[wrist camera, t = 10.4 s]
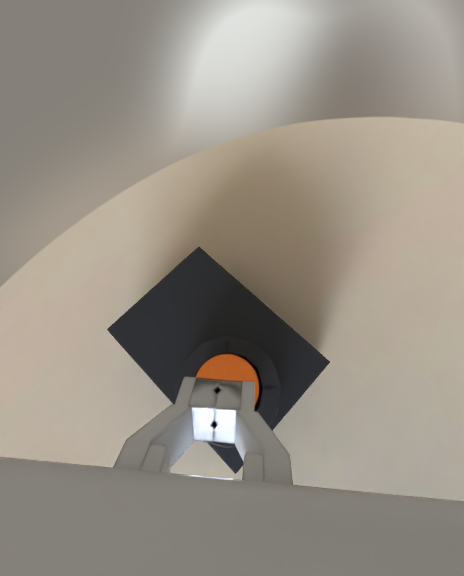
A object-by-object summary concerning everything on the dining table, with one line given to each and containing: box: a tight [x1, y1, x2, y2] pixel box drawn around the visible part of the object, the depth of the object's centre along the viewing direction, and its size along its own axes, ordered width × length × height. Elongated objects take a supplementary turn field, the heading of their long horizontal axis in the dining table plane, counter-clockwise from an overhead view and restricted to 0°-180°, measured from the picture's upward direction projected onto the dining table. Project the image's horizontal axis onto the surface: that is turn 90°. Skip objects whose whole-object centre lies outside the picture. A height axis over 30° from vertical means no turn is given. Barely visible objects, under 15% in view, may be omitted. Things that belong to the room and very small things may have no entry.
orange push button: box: [196, 354, 259, 406], centre depth 19 cm, size 4×4×2 cm
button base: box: [107, 247, 330, 474], centre depth 25 cm, size 14×10×8 cm
